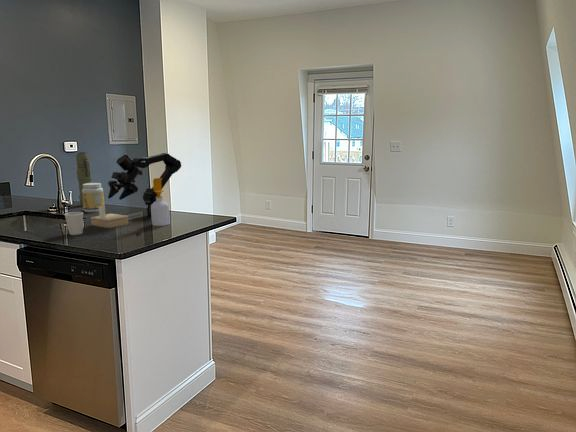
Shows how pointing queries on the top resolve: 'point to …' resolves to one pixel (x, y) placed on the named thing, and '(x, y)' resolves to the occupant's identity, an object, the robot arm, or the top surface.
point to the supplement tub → (92, 197)
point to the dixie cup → (74, 222)
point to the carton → (110, 223)
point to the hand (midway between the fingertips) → (114, 198)
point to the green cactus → (83, 172)
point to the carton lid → (107, 215)
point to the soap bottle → (159, 206)
